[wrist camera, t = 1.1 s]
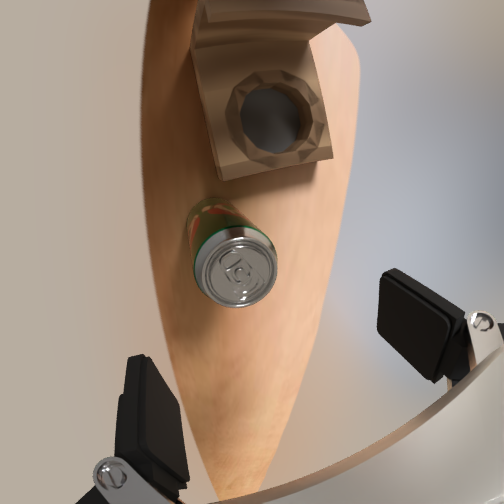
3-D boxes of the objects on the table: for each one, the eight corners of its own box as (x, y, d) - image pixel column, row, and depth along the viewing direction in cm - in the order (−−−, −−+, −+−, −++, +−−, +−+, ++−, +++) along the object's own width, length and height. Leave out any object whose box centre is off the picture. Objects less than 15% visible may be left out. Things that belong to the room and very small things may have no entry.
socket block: (189, 47, 19) (203, -23, 8) (292, 38, 21) (359, -11, 10) (218, 178, 24) (252, 197, 14) (318, 157, 26) (401, 166, 15)
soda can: (206, 257, 27) (228, 328, 16) (176, 217, 25) (175, 267, 14) (248, 228, 27) (298, 280, 16) (220, 186, 25) (255, 211, 14)
